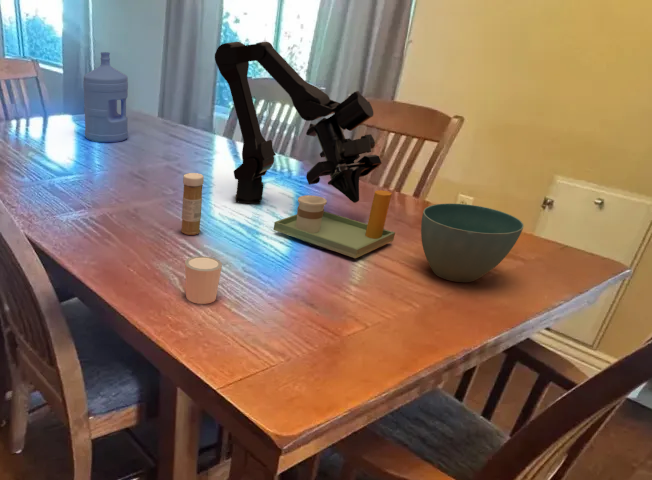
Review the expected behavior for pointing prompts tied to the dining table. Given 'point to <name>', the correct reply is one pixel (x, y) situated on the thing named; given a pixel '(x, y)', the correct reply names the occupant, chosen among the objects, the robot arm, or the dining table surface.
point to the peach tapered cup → (202, 279)
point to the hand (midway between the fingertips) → (356, 201)
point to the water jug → (105, 103)
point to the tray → (346, 230)
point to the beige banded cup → (310, 213)
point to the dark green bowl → (466, 239)
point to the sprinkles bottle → (192, 203)
